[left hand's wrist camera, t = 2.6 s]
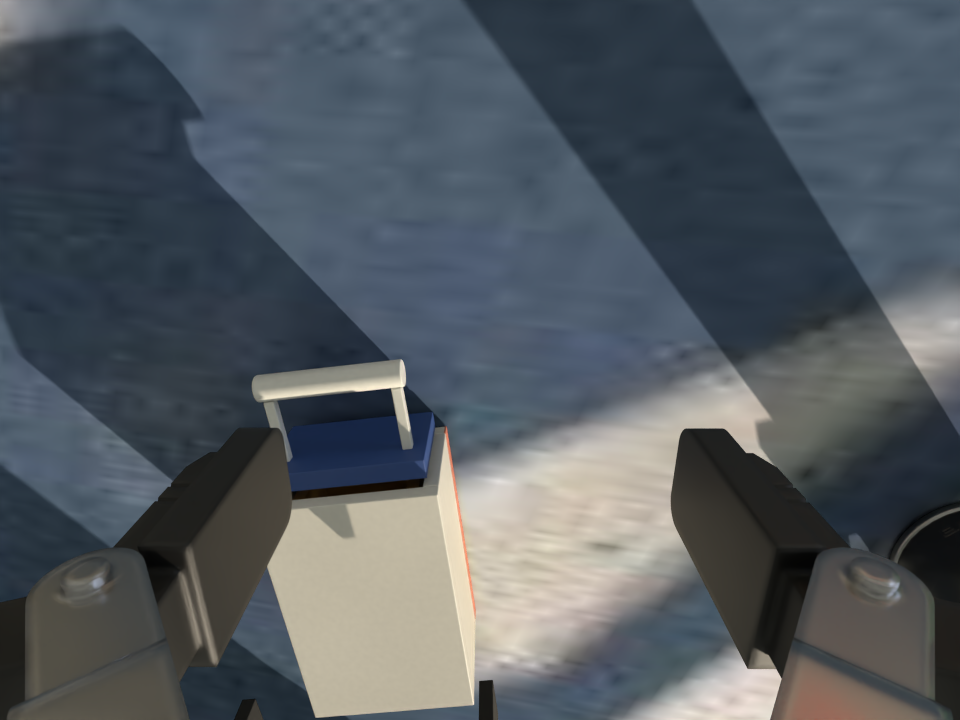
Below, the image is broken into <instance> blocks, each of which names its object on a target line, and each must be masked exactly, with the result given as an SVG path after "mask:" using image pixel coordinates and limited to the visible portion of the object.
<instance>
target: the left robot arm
mask: <svg viewBox="0 0 960 720" xmlns="http://www.w3.org/2000/svg"><path fill="white" fill-rule="evenodd" d="M291 509H292V492H291V485H290V478H289V472H288V465H287V458H286V451H285V444H284V438H283V434H282V432H281V430H280V429H279V428H238V429H237V430H236V431H235V432H234V433H233V434H232V436H231V437H230V438H229V439H228V440H227V442H226V443H225V444H224V445H223V446H222V447H221V449H220V450H219V451H218V452H210V453H208V454H206V455H205V456H203V457H202V458H200V459H198V460H197V461H195V462H193V463H192V464H190V465H188V466H187V467H186V468H185V469H184V470H183V471H182V472H181V473H180V474H179V475H178V477H177V478H176V479H175V480H174V481H173V482H172V483H171V487H168V488H167V489H166V490H165V491H164V492H163V493H162V494H161V495H160V496H159V498H158V501H155V502H154V503H153V504H152V505H151V506H150V507H149V509H148V510H147V511H146V512H145V513H144V514H143V515H142V516H141V517H140V518H139V520H138V521H137V522H136V523H135V524H134V525H133V526H132V527H131V528H130V529H129V531H128V532H127V533H126V534H125V535H124V536H123V537H122V538H121V539H120V540H119V542H118V543H117V544H116V545H115V546H114V547H113V548H106V549H100V550H96V551H92V552H89V553H85V554H83V555H80V556H77V557H75V558H73V559H71V560H69V561H66V562H64V563H63V564H61V565H59V566H57V567H56V568H54V569H53V570H51V571H50V572H49V573H47V574H46V575H45V576H44V577H42V578H41V579H40V580H39V581H38V582H37V583H36V584H35V585H34V586H33V588H32V589H31V591H30V592H29V594H28V596H27V597H24V598H19V599H14V600H10V601H5V602H1V603H0V720H190V719H189V715H188V712H187V708H186V705H185V701H184V698H183V694H182V691H181V687H180V684H179V682H180V681H181V679H182V677H183V675H184V673H185V672H186V670H187V668H188V667H217V665H218V663H219V661H220V659H221V657H222V655H223V653H224V651H225V649H226V647H227V645H228V643H229V641H230V639H231V637H232V635H233V633H234V631H235V629H236V627H237V625H238V623H239V621H240V619H241V617H242V615H243V613H244V611H245V609H246V607H247V605H248V603H249V601H250V599H251V597H252V595H253V593H254V591H255V589H256V587H257V585H258V583H259V581H260V579H261V577H262V575H263V573H264V571H265V570H266V568H267V566H268V564H269V562H270V560H271V558H272V556H273V554H274V552H275V550H276V548H277V546H278V544H279V542H280V540H281V538H282V536H283V534H284V532H285V530H286V528H287V526H288V523H289V520H290V516H291ZM671 511H672V517H673V521H674V524H675V527H676V529H677V531H678V533H679V535H680V537H681V539H682V541H683V543H684V545H685V547H686V549H687V551H688V553H689V555H690V556H691V558H692V560H693V562H694V564H695V566H696V568H697V570H698V572H699V574H700V576H701V578H702V580H703V582H704V584H705V586H706V588H707V590H708V592H709V594H710V596H711V598H712V600H713V602H714V604H715V606H716V608H717V609H718V611H719V613H720V615H721V617H722V619H723V621H724V623H725V625H726V627H727V629H728V631H729V633H730V635H731V637H732V639H733V641H734V643H735V645H736V647H737V649H738V651H739V653H740V655H741V657H742V659H743V661H744V662H745V664H746V666H747V668H748V669H777V671H778V673H779V674H780V676H781V678H782V680H781V684H780V687H779V691H778V694H777V698H776V701H775V705H774V708H773V712H772V715H771V719H770V720H960V503H956V504H952V505H948V506H945V507H942V508H940V509H937V510H935V511H933V512H931V513H929V514H927V515H925V516H924V517H922V518H921V519H919V520H918V521H916V522H915V523H914V524H913V525H911V526H910V527H909V528H908V529H907V530H906V531H905V532H904V533H903V535H902V536H901V537H900V538H899V540H898V541H897V543H896V544H895V546H894V548H893V551H892V553H891V556H890V560H889V559H887V558H885V557H883V556H880V555H877V554H875V553H871V552H868V551H864V550H860V549H854V548H850V547H849V546H848V545H847V543H846V542H845V541H844V540H843V539H842V538H841V537H840V536H839V535H838V534H837V533H836V531H835V530H834V529H833V528H832V527H831V526H830V525H829V524H828V523H827V522H826V521H825V519H824V518H823V517H822V516H821V515H820V514H819V513H818V512H817V511H816V510H815V509H814V507H813V506H812V505H811V504H810V503H806V499H805V498H804V497H803V495H802V494H801V493H800V492H799V491H798V490H797V489H796V488H793V485H792V483H791V482H790V481H789V480H788V479H787V478H786V477H785V476H784V475H783V474H782V472H781V471H780V470H779V469H778V468H777V467H775V466H773V465H772V464H770V463H768V462H767V461H765V460H764V459H762V458H760V457H759V456H757V455H755V454H754V453H746V452H745V451H744V450H743V449H742V448H741V447H740V445H739V444H738V443H737V442H736V441H735V440H734V438H733V437H732V436H731V435H730V434H729V433H728V432H727V431H726V430H725V429H684V430H683V431H682V433H681V435H680V439H679V445H678V452H677V459H676V465H675V472H674V479H673V485H672V492H671Z"/></svg>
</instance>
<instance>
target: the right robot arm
mask: <svg viewBox="0 0 960 720" xmlns="http://www.w3.org/2000/svg"><path fill="white" fill-rule="evenodd" d="M234 720H263V717H262V715H261V712H260V709H259V707H258V704H257V702H256V699H247V700H242V703H241V705H240V707H239V709H238V712H237V714H236V716H235V719H234ZM479 720H498V711H497V705H496V698H495V692H494V685H493V680H487V681H479Z"/></svg>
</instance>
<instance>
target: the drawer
mask: <svg viewBox="0 0 960 720" xmlns="http://www.w3.org/2000/svg"><path fill="white" fill-rule="evenodd" d="M405 383H406V373H405V367H404V363H403V361H402V359H398V360H389V361H380V362H371V363H362V364H353V365H344V366H335V367H326V368H317V369H308V370H299V371H290V372H281V373H272V374H263V375H256V376H255V377H254V378H253V381H252V392H253V396H254V398H255V400H256V401H257V402H264V407H265V411H266V414H267V418H268V421H269V425H270V428H279V429H280V430H281V432H282V434H283V438H284V444H285V451H286V458H287V465H288V472H289V478H290V485H291V492H292V491H297V492H296V494H295V496H294V498H293V500H299V499H309V498H319V497H329V496H339V495H349V494H359V493H369V492H379V491H389V490H399V489H409V488H419V487H423V483H424V478H427V473H428V467H429V462H430V456H431V450H432V444H433V438H434V432H435V422H434V416H433V412H425V413H415V414H408V411H407V406H406V401H405V395H404V390H403V387H404V386H405ZM387 388H391V392H392V397H393V403H394V408H395V413H396V416H387V417H378V418H368V419H359V420H350V421H340V422H331V423H321V424H312V425H303V426H294V427H293V428H292V429H291V431H290V432H289V434H288V435H287V434H286V430H285V427H284V423H283V420H282V416H281V412H280V409H279V405H278V401H277V400H286V399H295V398H304V397H313V396H323V395H332V394H341V393H350V392H359V391H369V390H378V389H387Z"/></svg>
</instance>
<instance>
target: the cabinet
mask: <svg viewBox="0 0 960 720" xmlns="http://www.w3.org/2000/svg"><path fill="white" fill-rule="evenodd" d="M296 492H297V491H292V509H291V516H290V520H289V523H288V526H287V528H286V530H285V532H284V534H283V536H282V538H281V540H280V542H279V544H278V546H277V548H276V550H275V552H274V554H273V556H272V558H271V560H270V562H269V564H268V566H267V568H268V571H269V574H270V577H271V580H272V583H273V586H274V589H275V593H276V596H277V599H278V602H279V605H280V608H281V611H282V614H283V618H284V621H285V624H286V627H287V630H288V633H289V636H290V639H291V643H292V646H293V649H294V652H295V655H296V658H297V661H298V664H299V668H300V671H301V674H302V677H303V680H304V683H305V686H306V689H307V693H308V696H309V699H310V702H311V705H312V708H313V711H314V714H315V717H316V718H318V717H331V716H343V715H355V714H368V713H380V712H392V711H405V710H417V709H429V708H442V707H454V706H466V705H474V660H475V613H476V610H475V603H474V597H473V591H472V585H471V578H470V572H469V566H468V559H467V553H466V547H465V540H464V534H463V528H462V521H461V515H460V509H459V502H458V496H457V490H456V484H455V477H454V471H453V465H452V458H451V452H450V446H449V439H448V433H447V427H446V426H445V427H438V428H435V432H434V438H433V444H432V450H431V456H430V462H429V467H428V473H427V478H424V483H423V487H419V488H409V489H399V490H389V491H379V492H369V493H359V494H349V495H339V496H329V497H319V498H309V499H299V500H293V498H294V496H295V494H296Z"/></svg>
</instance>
